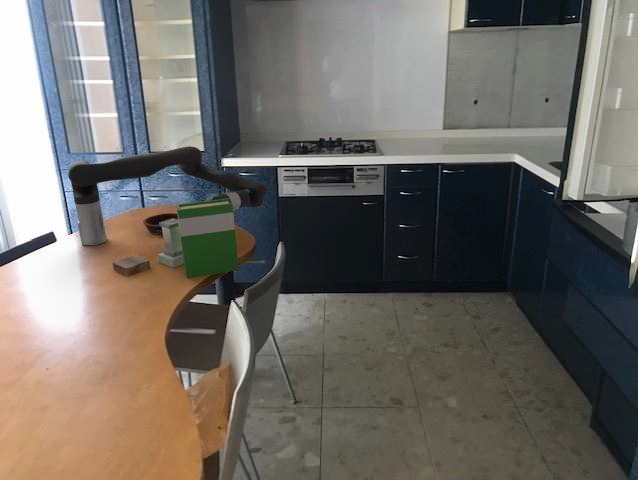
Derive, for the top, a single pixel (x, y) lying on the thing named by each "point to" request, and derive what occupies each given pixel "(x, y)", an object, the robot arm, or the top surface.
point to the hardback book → (208, 237)
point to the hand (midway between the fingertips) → (192, 211)
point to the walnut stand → (131, 265)
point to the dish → (154, 221)
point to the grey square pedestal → (171, 237)
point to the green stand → (171, 260)
